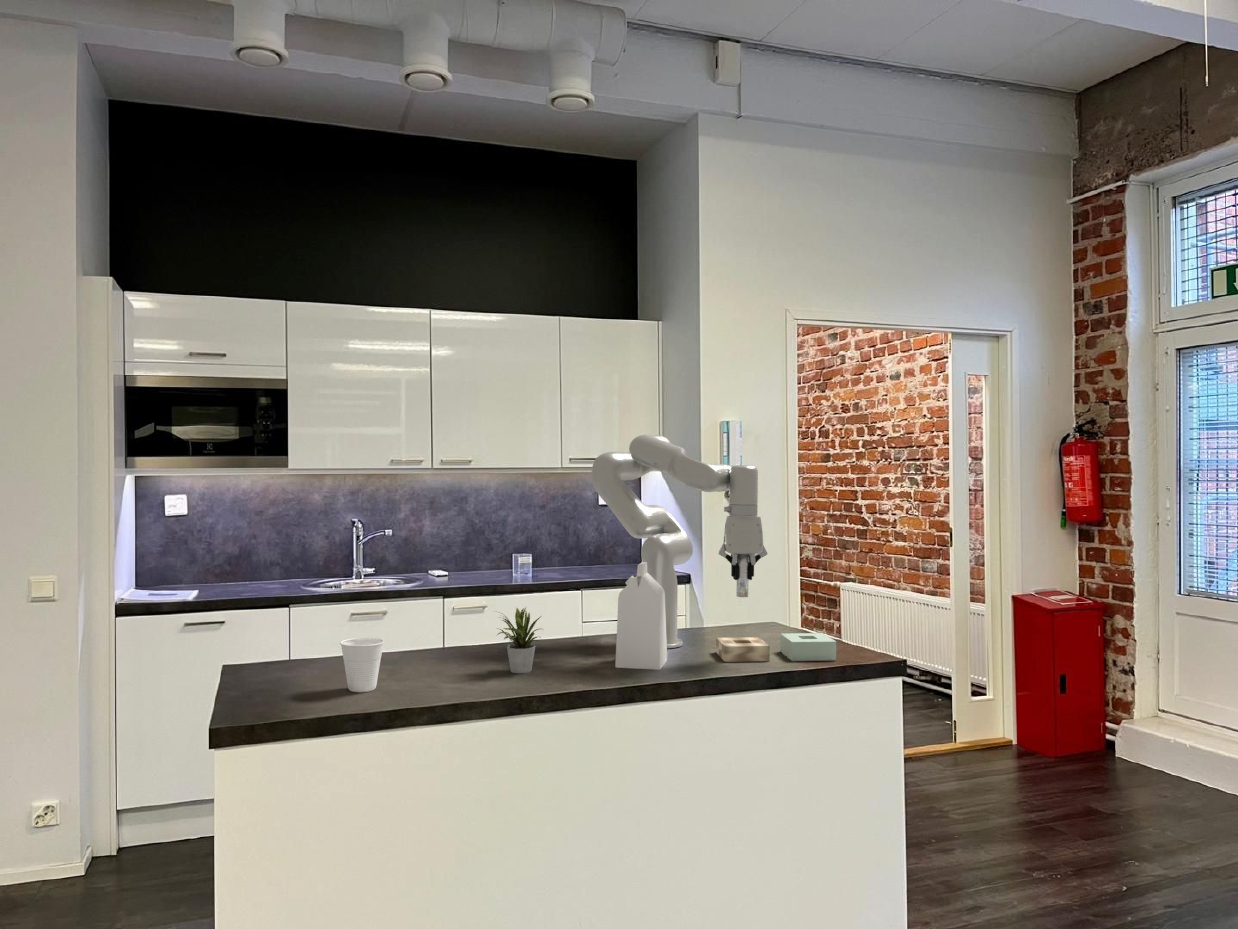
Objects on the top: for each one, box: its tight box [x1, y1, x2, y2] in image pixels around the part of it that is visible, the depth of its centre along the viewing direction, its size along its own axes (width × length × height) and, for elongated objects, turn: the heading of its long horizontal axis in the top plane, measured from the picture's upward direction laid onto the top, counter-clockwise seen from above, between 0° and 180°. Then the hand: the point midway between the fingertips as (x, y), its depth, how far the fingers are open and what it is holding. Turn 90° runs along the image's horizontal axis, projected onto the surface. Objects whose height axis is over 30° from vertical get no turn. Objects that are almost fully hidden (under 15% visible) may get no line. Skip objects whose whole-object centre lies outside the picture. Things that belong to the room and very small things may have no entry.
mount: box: [715, 636, 771, 663], centre depth 259 cm, size 12×12×4 cm
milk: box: [614, 561, 668, 671], centre depth 249 cm, size 12×12×26 cm
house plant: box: [494, 607, 544, 674], centre depth 241 cm, size 14×14×16 cm
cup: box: [339, 637, 386, 693], centre depth 220 cm, size 10×10×11 cm
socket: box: [779, 632, 837, 662], centre depth 260 cm, size 12×12×5 cm
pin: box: [735, 554, 750, 598], centre depth 259 cm, size 3×3×12 cm
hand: (742, 578), depth 259 cm, fingers closed on pin, 3 cm apart
